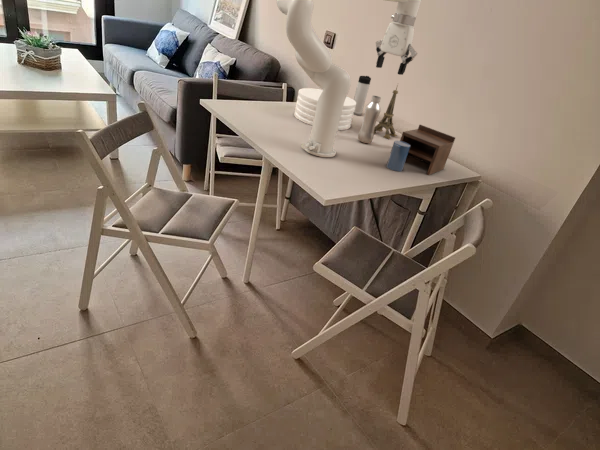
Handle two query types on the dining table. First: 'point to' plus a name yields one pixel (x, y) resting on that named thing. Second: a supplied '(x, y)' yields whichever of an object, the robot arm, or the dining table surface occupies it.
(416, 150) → the shelf stand
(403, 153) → the jug
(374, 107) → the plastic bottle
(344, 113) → the plate stack
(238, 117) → the dining table surface
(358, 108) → the travel mug
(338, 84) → the robot arm
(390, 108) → the eiffel tower
